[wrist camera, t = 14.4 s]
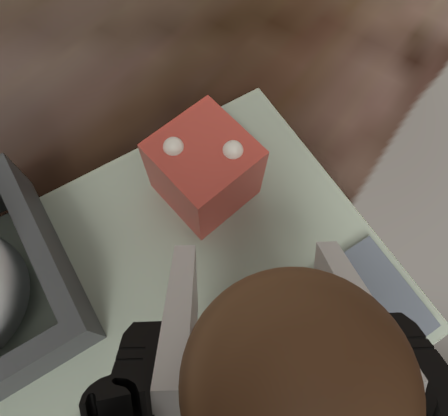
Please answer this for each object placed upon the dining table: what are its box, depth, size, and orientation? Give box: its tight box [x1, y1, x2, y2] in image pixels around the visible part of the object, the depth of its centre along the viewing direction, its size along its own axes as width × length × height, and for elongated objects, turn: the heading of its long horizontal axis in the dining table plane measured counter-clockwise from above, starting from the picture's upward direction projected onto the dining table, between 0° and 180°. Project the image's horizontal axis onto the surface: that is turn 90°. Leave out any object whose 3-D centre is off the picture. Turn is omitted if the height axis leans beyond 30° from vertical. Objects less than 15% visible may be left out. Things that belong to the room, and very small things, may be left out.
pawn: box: [178, 267, 426, 416], centre depth 11 cm, size 5×5×11 cm
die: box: [137, 95, 269, 240], centre depth 18 cm, size 4×4×4 cm
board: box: [0, 88, 448, 416], centre depth 17 cm, size 17×24×4 cm
